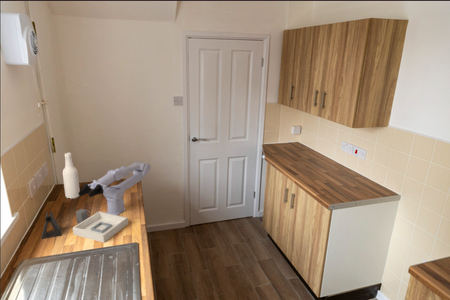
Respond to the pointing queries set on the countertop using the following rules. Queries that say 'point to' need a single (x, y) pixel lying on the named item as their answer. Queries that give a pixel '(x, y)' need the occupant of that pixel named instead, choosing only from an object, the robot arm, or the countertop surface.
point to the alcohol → (70, 178)
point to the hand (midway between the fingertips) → (84, 195)
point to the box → (100, 226)
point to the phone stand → (55, 225)
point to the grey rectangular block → (81, 215)
